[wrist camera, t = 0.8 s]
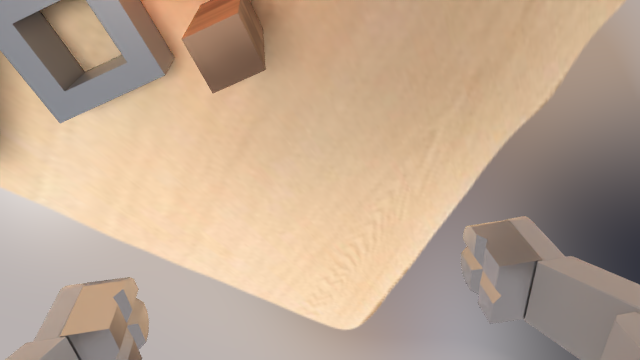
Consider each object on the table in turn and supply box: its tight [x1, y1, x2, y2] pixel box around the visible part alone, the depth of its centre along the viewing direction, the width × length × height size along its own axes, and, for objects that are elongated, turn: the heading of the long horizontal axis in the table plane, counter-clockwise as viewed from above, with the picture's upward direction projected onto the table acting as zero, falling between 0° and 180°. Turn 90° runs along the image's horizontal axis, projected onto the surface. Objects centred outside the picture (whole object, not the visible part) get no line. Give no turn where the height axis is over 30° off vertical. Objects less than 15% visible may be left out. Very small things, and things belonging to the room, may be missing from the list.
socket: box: [0, 0, 174, 123], centre depth 36 cm, size 10×10×5 cm
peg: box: [182, 0, 266, 93], centre depth 34 cm, size 4×4×12 cm
